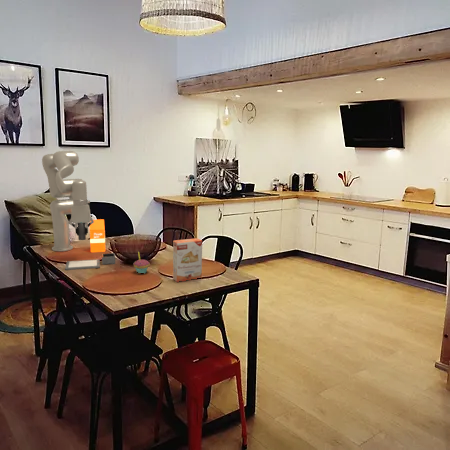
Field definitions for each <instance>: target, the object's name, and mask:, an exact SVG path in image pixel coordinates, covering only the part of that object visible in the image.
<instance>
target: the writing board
mask: <svg viewBox="0 0 450 450" xmlns="http://www.w3.org/2000/svg"><path fill="white" fill-rule="evenodd" d="M100 267H101V263H100V258H99V259H85V260H84V259H83V260H67V261H66V264H65V267H64V270H65V271H72V270H86V269H89V270H90V269H100Z"/></svg>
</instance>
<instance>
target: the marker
mask: <svg viewBox="0 0 450 450" xmlns="http://www.w3.org/2000/svg"><path fill="white" fill-rule="evenodd" d="M77 227H78V239H77V240H78V241H86V239H87V235H85V227H86V225H85V223H82V222H80V223H78V225H77Z"/></svg>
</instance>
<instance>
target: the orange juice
mask: <svg viewBox="0 0 450 450" xmlns="http://www.w3.org/2000/svg"><path fill="white" fill-rule="evenodd" d="M93 221H94V223H93V224H91V225H90V226H89V242H90V253H105V252H106V230H105V219H101V218H100V219H93ZM90 222H91V221H90ZM90 222H89V223H90Z"/></svg>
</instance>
